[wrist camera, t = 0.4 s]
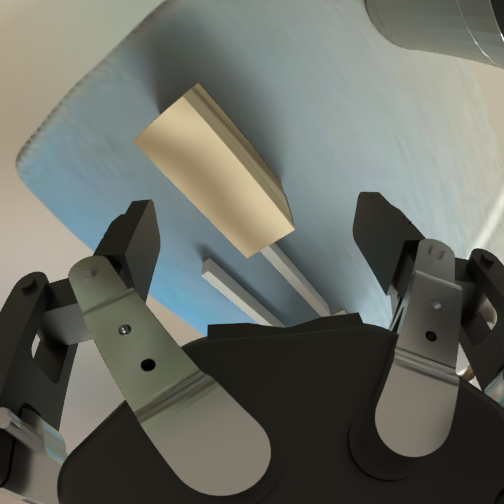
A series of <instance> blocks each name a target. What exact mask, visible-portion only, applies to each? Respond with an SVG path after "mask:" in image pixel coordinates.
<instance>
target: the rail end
mask: <svg viewBox="0 0 504 504" xmlns="http://www.w3.org/2000/svg"><path fill="white" fill-rule="evenodd" d="M133 142H134V143H135V144H136V145H137V146H138V148H139V149H140V150H141V151H142V152H143V153H144V154H145V155H146V156H147V157H148V158H149V159H150V160H151V161H152V162H153V163H154V164H155V165H156V166H157V167H158V168H159V169H160V170H161V171H162V172H163V173H164V174H165V175H166V176H167V177H168V178H169V179H170V180H171V181H172V182H173V184H174V185H175V186H176V187H177V188H178V189H179V190H180V191H181V192H182V193H183V194H184V195H185V196H186V197H187V198H188V199H189V200H190V201H191V202H192V203H193V204H194V205H195V206H196V207H197V208H198V209H199V210H200V211H201V212H202V213H203V214H204V215H205V216H206V217H207V218H208V219H209V220H210V221H211V222H212V223H213V224H214V225H215V226H216V227H217V228H218V229H219V230H220V231H221V232H222V233H223V234H224V235H225V236H226V238H227V239H228V240H229V241H230V242H231V243H232V244H233V245H234V246H235V247H236V248H237V249H238V250H239V251H240V252H241V253H242V254H243V255H244V256H245V257H246V258H249V257H250V256H252V255H254V254H255V253H257V252H259V251H260V250H262V249H264V248H265V247H267V246H269V245H270V244H272V243H274V242H276V241H277V240H279V239H281V238H282V237H284V236H286V235H287V234H289V233H291V232H292V231H294V230H295V228H294V226H295V224H294V221H293V218H292V214H291V211H290V208H289V204H288V201H287V198H286V195H285V193H284V191H283V188H282V184H281V183H280V181H279V180H278V179H277V178H276V176H275V175H274V174H273V172H272V171H271V170H270V169H269V167H268V166H267V165H266V163H265V162H264V161H263V160H262V158H261V157H260V156H259V155H258V153H257V152H256V151H255V149H254V148H253V147H252V146H251V144H250V143H249V142H248V141H247V140H246V138H245V137H244V136H243V135H242V133H241V132H240V131H239V130H238V129H237V127H236V126H235V125H234V124H233V122H232V121H231V120H230V119H229V118H228V116H227V115H226V114H225V113H224V112H223V111H222V109H221V108H220V107H219V106H218V105H217V103H216V102H215V101H214V100H213V99H212V98H211V97H210V95H209V94H208V93H207V92H206V91H205V90H204V88H203V87H202V86H201V85H200V84H199V83H197V84H196V85H195V86H193V87H192V88H191V89H190V90H188V91H187V92H186V93H185V94H184V95H182V96H181V97H180V98H179V99H177V100H176V101H175V102H174V103H173V104H172V105H170V106H169V107H168V108H167V109H166V110H165V111H163V112H162V113H161V114H160V115H159V116H158V117H157V118H156V119H155V120H154V121H153V122H151V123H150V124H149V125H148V126H147V127H146V128H145V129H144V130H143V131H142V132H141V133H140V134H139V135H138V136H137V137H136V138H135V139H134V140H133Z"/></svg>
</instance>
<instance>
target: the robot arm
mask: <svg viewBox="0 0 504 504" xmlns="http://www.w3.org/2000/svg"><path fill="white" fill-rule="evenodd" d="M366 8H367V11H368V14H369V17H370V19H371V21H372V23H373V24H374V26H375V27H376V28H377V30H378V31H379V32H380V33H381V34H382V35H383V36H384V37H385V38H386V39H388V40H389V41H390V42H392V43H394V44H396V45H398V46H400V47H403V48H407V49H413V50H421V51H427V52H433V53H439V54H444V55H450V56H455V57H460V58H464V59H468V60H473V61H477V62H481V63H485V64H488V65H492V66H495V67H499V68H502V69H504V0H366ZM353 237H354V240H355V242H356V244H357V246H358V247H359V249H360V251H361V252H362V254H363V256H364V257H365V259H366V261H367V262H368V264H369V266H370V268H371V269H372V271H373V273H374V275H375V276H376V278H377V280H378V282H379V284H380V285H381V287H382V289H383V291H384V293H385V294H386V296H388V295H396V294H399V296H400V297H399V299H398V302H397V304H396V308H395V311H394V314H393V317H392V320H391V323H390V326H389V329H385V328H383V327H379V326H376V325H371V324H365V323H363V322H362V319H361V317H360V315H359V313H351V314H342V315H333V316H324V317H321V318H318V319H315V320H312V321H309V322H306V323H303V324H300V325H296V326H293V327H289V328H283V327H275V326H267V325H259V324H251V323H235V324H213V325H208V334H207V336H206V337H203V338H200V339H197V340H194V341H192V342H189V343H187V344H185V345H184V346H182V347H180V346H179V345H178V344H177V343H176V341H175V340H174V339H173V338H172V337H171V335H170V334H169V333H168V332H167V330H166V329H165V328H164V327H163V326H162V324H161V323H160V322H159V320H158V319H157V318H156V317H155V315H154V314H153V313H152V312H151V310H150V309H149V308H148V306H147V305H146V304H145V303H146V299H147V295H148V291H149V288H150V284H151V280H152V276H153V273H154V269H155V265H156V262H157V258H158V255H159V251H160V234H159V229H158V224H157V219H156V213H155V208H154V203H153V201H152V200H151V199H150V200H140V201H133V202H132V203H131V205H130V206H129V208H128V210H127V211H126V213H125V214H122V215H120V216H118V217H117V218H116V219H115V220H114V221H112V223H111V224H110V226H109V228H108V229H107V231H106V233H105V234H104V238H102V240H101V241H100V243H99V245H98V247H97V249H96V250H95V252H94V254H93V256H90V257H87V258H84V259H82V260H80V261H79V262H77V263H76V264H75V265H74V266H73V267H72V268H71V269H70V271H69V274H68V278H66V279H63V280H59V281H56V282H53V283H49V281H48V279H47V277H46V275H45V274H44V273H42V272H33V273H30V274H28V275H26V276H24V277H23V278H21V279H20V280H19V281H18V282H17V283H16V285H15V286H14V288H13V289H12V291H11V293H10V295H9V297H8V298H7V300H6V302H5V304H4V306H3V308H2V310H1V312H0V493H2V494H4V495H6V496H9V497H11V498H14V499H17V500H22V501H25V502H27V503H30V504H504V265H503V264H502V263H501V262H500V261H499V259H498V258H497V257H496V256H495V255H493V254H492V253H490V252H488V251H486V250H484V249H479V248H477V249H474V250H473V251H472V252H471V255H470V257H469V260H466V259H460V258H455V255H454V252H453V251H452V249H451V248H450V247H448V246H447V245H446V244H444V243H442V242H440V241H438V240H434V239H426V238H425V237H424V236H423V235H422V234H421V232H420V231H419V230H418V229H417V228H416V227H415V226H414V225H413V224H412V222H411V221H410V220H409V219H408V218H406V216H405V215H404V214H403V213H402V212H401V210H399V209H398V208H396V207H394V206H393V205H391V204H390V203H389V202H388V201H387V200H386V199H385V198H384V197H383V196H382V195H381V194H380V193H379V192H361V193H360V194H359V196H358V201H357V207H356V213H355V218H354V224H353ZM487 298H488V300H489V301H490V303H491V304H492V306H493V307H494V309H495V310H496V313H497V321H496V324H495V326H494V327H493V329H492V330H491V329H490V328H489V326H488V324H487V323H486V321H485V319H484V318H483V316H482V314H481V313H480V309H481V307H482V306H483V304H484V302H485V300H486V299H487ZM36 334H37V335H38V336H39V338H40V342H39V345H38V348H37V350H36V353H35V356H34V359H33V357H32V350H31V347H32V344H33V341H34V338H35V336H36ZM91 339H93V340H94V342H95V344H96V346H97V348H98V350H99V352H100V354H101V356H102V358H103V360H104V362H105V364H106V366H107V368H108V369H109V371H110V373H111V375H112V377H113V378H114V380H115V382H116V384H117V386H118V387H119V389H120V391H121V392H122V394H123V396H124V398H125V400H124V401H123V402H122V403H121V404H120V405H119V406H118V407H117V408H116V409H115V410H114V411H113V412H112V413H111V414H110V415H109V416H108V417H107V418H106V419H105V420H104V421H103V422H102V423H101V424H100V425H99V426H98V427H97V428H96V429H95V430H94V431H93V432H92V433H91V434H90V435H89V436H88V437H87V438H86V439H85V440H84V441H83V442H82V443H80V445H78V446H77V447H76V448H75V449H74V450H73V451H72V452H71V453H70V455H69V456H68V455H67V453H66V446H65V442H64V439H63V437H62V435H61V434H60V433H59V427H60V421H61V416H62V410H63V405H64V400H65V395H66V391H67V386H68V382H69V377H70V373H71V369H72V365H73V361H74V357H75V354H76V350H77V346H78V343H79V342H83V341H87V340H91ZM459 342H460V344H461V346H462V348H463V350H464V352H465V354H466V357H467V359H468V361H469V363H470V365H471V367H472V370H473V372H474V374H475V376H476V378H477V381H478V383H479V385H480V387H481V390H482V391H481V390H479V389H478V388H476V387H475V386H473V385H472V384H470V383H469V382H468V381H466V380H465V379H463V378H462V377H460V376H459V375H457V374H456V372H455V369H456V361H457V353H458V345H459Z"/></svg>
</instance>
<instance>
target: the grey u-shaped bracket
mask: <svg viewBox="0 0 504 504" xmlns="http://www.w3.org/2000/svg"><path fill="white" fill-rule="evenodd" d="M260 252H261V253H262V254H263V255H264V256H265V257H266V258H267V259H268V260H269V261H270V262H271V263H272V264H273V266H274V267H275V268H276V269H277V270H278V271H279V272H280V273H281V274H282V275H283V276H284V277H285V278H286V279H287V281H288V282H289V283H290V284H291V285H292V286H293V287H294V288H295V289H296V290H297V291H298V292H299V293H300V295H301V296H302V297H303V298H304V299H305V300H306V301H307V302H308V303H309V304H310V305H311V306H312V307H313V309H314V310H315V311H316V312H317V313H318V314H319V315H320V316H321V317H324V316H333V315H342V314H347V313H346V312H345V310H344V309H343V310H341V311H339V312H337V313H335V314H333V315H331V314H330V310H329V307H328V304H327V303H326V302H325V300H324V299H323V298H322V297H321V296H320V294H319V293H318V292H317V291H316V290H315V289H314V287H313V286H312V285H311V284H310V283H309V282H308V280H307V279H306V278H305V277H304V276H303V275H302V273H301V272H300V271H299V270H298V269H297V268H296V266H295V265H294V264H293V263H292V262H291V261H290V259H289V258H288V257H287V256H286V255H285V254H284V252H283V251H282V250H281V249H280V248H279V247H278V246H277V244H276V243H275V242H274V243H272V244H270V245H269V246H267V247H265V248H264V249H262V250H260ZM201 276H203V277H204V278H205V279H206V280H207V281H208V282H210V283H211V284H212V285H213V286H214V287H215V288H217V289H218V290H219V291H220V292H221V293H223V294H224V295H225V296H226V297H227V298H228V299H230V300H231V301H232V302H233V303H234V304H236V305H237V306H238V307H239V308H241V309H242V310H243V311H244V312H245V313H247V314H248V315H249V316H250V317H251V318H253V319H254V320H255V321H256V322H258V323H259V324H260V325H267V326H275V327H283V328H285V325H284V324H283V323H282V322H281V321H280V320H278V319H277V318H276V317H275V316H274V315H273V314H272V313H270V312H269V311H268V310H267V309H266V308H265V307H264V306H263V305H261V304H260V303H259V302H258V301H257V300H256V299H255V298H254V297H252V296H251V295H250V294H249V293H248V292H247V291H246V290H245V289H244V288H242V287H241V286H240V285H239V284H238V283H237V282H236V281H235V280H234V279H233V278H231V277H230V276H229V275H228V274H227V273H226V272H225V271H224V270H223V269H222V268H221V267H219V266H218V265H217V264H216V263H215V262H214V261H213V260H212V259H211V258H208V259H207V260H205V261H204V262H203V265H202V273H201Z"/></svg>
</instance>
